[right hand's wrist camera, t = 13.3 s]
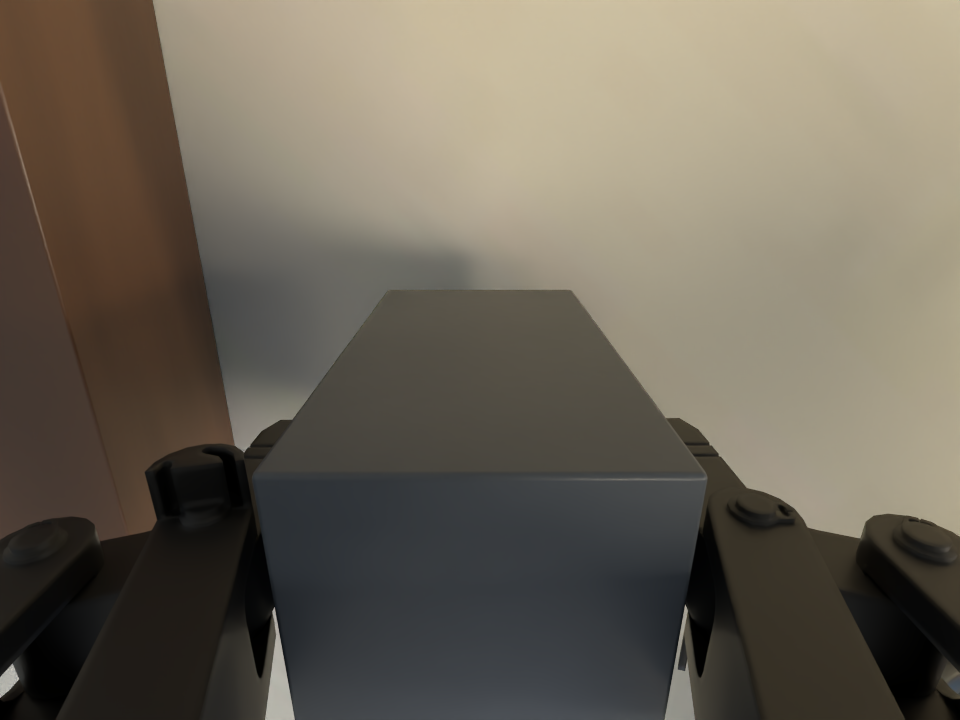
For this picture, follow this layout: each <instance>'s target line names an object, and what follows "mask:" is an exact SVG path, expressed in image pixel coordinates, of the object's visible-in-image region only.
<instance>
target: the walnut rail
mask: <svg viewBox="0 0 960 720" xmlns="http://www.w3.org/2000/svg"><path fill="white" fill-rule="evenodd" d="M217 443H223V444H228V445H233V446H234V440H233V435H232V429H231V424H230V419H229V413H228V408H227V402H226V397H225V391H224V386H223V381H222V375H221V370H220V364H219V359H218V354H217V348H216V343H215V337H214V332H213V327H212V321H211V316H210V310H209V305H208V299H207V294H206V289H205V283H204V278H203V272H202V267H201V262H200V256H199V251H198V245H197V240H196V235H195V229H194V224H193V218H192V213H191V207H190V202H189V197H188V191H187V186H186V180H185V175H184V170H183V164H182V159H181V153H180V148H179V142H178V137H177V132H176V126H175V121H174V115H173V110H172V105H171V99H170V94H169V88H168V83H167V78H166V72H165V67H164V61H163V56H162V50H161V45H160V40H159V34H158V29H157V23H156V18H155V13H154V7H153V2H152V0H0V540H1V539H2V538H4V537H5V536H7V535H9V534H11V533H13V532H16V531H18V530H20V529H22V528H24V527H25V526H27V525H30V524H33V523H36V522H42V520H47V519H52V518H62V517H71V516H73V517H80V518H87V519H88V520H89V521H91V522H92V523H93V524H95V528H96V531H97V534H98V537H99V540H100V541H103V540H108V539H113V538H118V537H123V536H128V535H133V534H138V533H143V532H147V531H151V530H152V529H153V527H154V525H155V523H156V521H157V518H156V514H155V510H154V507H153V503H152V499H151V495H150V491H149V488H148V484H147V480H146V476H145V471H146V470H147V469H148V468H149V467H150V466H151V465H152V464H153V463H154V462H156V461H157V460H159V459H161V458H163V457H164V456H166V455H168V454H170V453H173V452H176V451H178V450H181V449H184V448H187V447H192V446H197V445H202V444H217Z"/></svg>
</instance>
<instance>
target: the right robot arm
mask: <svg viewBox="0 0 960 720" xmlns="http://www.w3.org/2000/svg"><path fill="white" fill-rule="evenodd" d="M666 419H667V421H668V422H669V423H670V425H671V426H672V427H673V429H674V430H675V431H676V433H677V434H678V435H679V437H680V438H681V440H682V441H683V442H684V444H685V445H686V446H687V448H688V449H689V450H690V452H691V453H692V454H693V456H694V457H695V459H696V460H697V461H698V463H699V464H700V465H701V467H702V468H703V469H704V471H705V472H706V474H707V485H706V490H705V496H704V502H703V507H702V513H701V518H700V524H699V529H698V535H697V541H696V546H695V552H694V557H693V563H692V568H691V574H690V580H689V585H688V591H687V596H686V602H685V605H686V607H687V609H688V613H687V619H686V624H685V630H684V635H683V640H682V646H681V651H680V657H679V664H678V670H683V671H685V668H686V663H687V660H688V668H689V675H690V683H691V691H692V698H693V706H694V714H695V720H960V537H959V536H958V535H956V534H954V533H953V532H951V531H949V530H946V529H944V528H942V527H939V526H937V525H936V524H934V523H932V522H930V521H927V520H923V519H921V520H920V519H918V518H916V517H911V516H903V515H894V514H884V515H876V516H873V517H872V518H870V519H869V520H868V521H866V523H865V526H864V529H863V532H862V536H861V539H859V538H854V537H849V536H844V535H839V534H834V533H829V532H824V531H818V530H814V529H811V528H807V526H806V524H805V522H804V520H803V519H802V517H801V516H800V515H799V514H798V513H797V511H796V510H795V509H794V508H793V507H791V506H790V505H788V504H787V503H785V502H784V501H782V500H781V499H779V498H776V497H774V496H772V495H769V494H767V493H764V492H761V491H757V490H752V489H748V488H746V487H745V485H744V484H743V483H742V482H741V481H740V479H739V478H738V477H737V476H736V474H735V473H734V472H733V471H732V470H731V468H730V467H729V466H728V465H727V464H726V462H725V461H724V460H723V459H722V458H721V457H719V456H718V453H717V452H716V450H715V449H714V448H713V447H712V446H709V442H708V441H707V440H706V438H705V437H704V436H703V435H702V433H701V432H700V431H699V430H698V429H696V428H695V427H693V426H691V425H690V424H688V423H686V422H685V421H683V420H681V419H680V418H666ZM291 421H292V420H280V421H278V422H276V423H275V424H273V425H271V426H270V427H268V428H266V429H265V430H263V431H262V432H261V433H260V434H259V435H258V436H257V438H256V439H255V440H254V441H253V442H252V444H251V447H248V449H247V450H246V451H245V452H244V453H243V451H241V450H240V449H239V448H237V447H236V446H233V445H228V444H223V443H217V444H202V445H197V446H192V447H187V448H184V449H181V450H178V451H176V452H173V453H170V454H168V455H166V456H164V457H163V458H161V459H159V460H157V461H156V462H154V463H153V464H152V465H151V466H150V467H149V468H148V469H147V470H146V471H145V476H146V480H147V484H148V488H149V491H150V495H151V499H152V503H153V507H154V510H155V514H156V518H157V521H156V523H155V525H154V527H153V529H152V530H151V531H147V532H143V533H138V534H133V535H128V536H123V537H118V538H113V539H108V540H103V541H100V540H99V537H98V534H97V531H96V528H95V524H93V523H92V522H91V521H89V520H88V519H87V518H80V517H73V516H71V517H62V518H52V519H47V520H42V522H36V523H33V524H30V525H27V526H25V527H24V528H22V529H20V530H18V531H16V532H13V533H11V534H9V535H7V536H5V537H4V538H2V539H1V540H0V676H1V675H2V674H3V673H4V672H5V671H6V670H7V669H8V668H9V667H10V666H11V664H12V663H13V665H14V668H15V670H16V672H17V675H18V677H19V680H18V681H17V683H16V684H15V685H14V686H13V687H12V688H11V689H10V690H9V691H8V692H7V693H6V694H4V695H3V696H2V697H1V698H0V720H265V715H266V707H267V700H268V692H269V684H270V677H271V669H272V661H273V654H274V646H275V638H276V632H275V624H274V619H273V613H272V611H273V609H274V607H275V605H274V600H273V594H272V588H271V583H270V577H269V572H268V566H267V561H266V555H265V550H264V544H263V538H262V533H261V527H260V522H259V516H258V511H257V505H256V499H255V494H254V488H253V483H252V476H253V473H254V471H255V470H256V469H257V467H258V466H259V464H260V463H261V462H262V460H263V459H264V458H265V456H266V455H267V454H268V452H269V451H270V450H271V448H272V447H273V446H274V444H275V443H276V441H277V440H278V439H279V437H280V436H281V435H282V433H283V432H284V431H285V429H286V428H287V427H288V425H289V424H290V423H291Z"/></svg>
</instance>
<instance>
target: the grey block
mask: <svg viewBox="0 0 960 720" xmlns="http://www.w3.org/2000/svg"><path fill="white" fill-rule="evenodd" d="M252 483H253V488H254V494H255V499H256V505H257V511H258V516H259V522H260V527H261V533H262V538H263V544H264V550H265V555H266V561H267V566H268V572H269V577H270V583H271V588H272V594H273V600H274V605H275V611H276V616H277V622H278V627H279V633H280V639H281V644H282V650H283V655H284V661H285V666H286V672H287V678H288V683H289V689H290V694H291V700H292V705H293V711H294V716H295V720H664V719H665V713H666V708H667V702H668V697H669V691H670V686H671V680H672V674H673V669H674V663H675V658H676V652H677V646H678V641H679V635H680V630H681V624H682V619H683V613H684V607H685V602H686V596H687V591H688V585H689V580H690V574H691V568H692V563H693V557H694V552H695V546H696V541H697V535H698V529H699V524H700V518H701V513H702V507H703V502H704V496H705V490H706V485H707V474H706V472H705V471H704V469H703V468H702V467H701V465H700V464H699V463H698V461H697V460H696V459H695V457H694V456H693V454H692V453H691V452H690V450H689V449H688V448H687V446H686V445H685V444H684V442H683V441H682V440H681V438H680V437H679V435H678V434H677V433H676V431H675V430H674V429H673V427H672V426H671V425H670V423H669V422H668V421H667V419H666V418H665V417H664V415H663V414H662V412H661V411H660V410H659V408H658V407H657V406H656V404H655V403H654V402H653V400H652V399H651V398H650V396H649V395H648V393H647V392H646V391H645V389H644V388H643V387H642V385H641V384H640V383H639V381H638V380H637V379H636V377H635V376H634V374H633V373H632V372H631V370H630V369H629V368H628V366H627V365H626V364H625V362H624V361H623V360H622V358H621V357H620V356H619V354H618V353H617V351H616V350H615V349H614V347H613V346H612V345H611V343H610V342H609V341H608V339H607V338H606V337H605V335H604V334H603V332H602V331H601V330H600V328H599V327H598V326H597V324H596V323H595V322H594V320H593V319H592V318H591V316H590V315H589V313H588V312H587V311H586V309H585V308H584V307H583V305H582V304H581V303H580V301H579V300H578V299H577V297H576V296H575V295H574V293H573V292H572V291H571V290H389V291H387V293H386V294H385V295H384V297H383V298H382V299H381V301H380V302H379V303H378V305H377V306H376V308H375V309H374V310H373V312H372V313H371V314H370V316H369V317H368V318H367V320H366V321H365V322H364V324H363V325H362V326H361V328H360V329H359V331H358V332H357V333H356V335H355V336H354V337H353V339H352V340H351V341H350V343H349V344H348V345H347V347H346V348H345V349H344V351H343V352H342V354H341V355H340V356H339V358H338V359H337V360H336V362H335V363H334V364H333V366H332V367H331V368H330V370H329V371H328V372H327V374H326V375H325V377H324V378H323V379H322V381H321V382H320V383H319V385H318V386H317V387H316V389H315V390H314V391H313V393H312V394H311V395H310V397H309V398H308V400H307V401H306V402H305V404H304V405H303V406H302V408H301V409H300V410H299V412H298V413H297V414H296V416H295V417H294V418H293V420H292V421H291V423H290V424H289V425H288V427H287V428H286V429H285V431H284V432H283V433H282V435H281V436H280V437H279V439H278V440H277V441H276V443H275V444H274V446H273V447H272V448H271V450H270V451H269V452H268V454H267V455H266V456H265V458H264V459H263V460H262V462H261V463H260V464H259V466H258V467H257V469H256V470H255V471H254V473H253V476H252Z"/></svg>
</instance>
